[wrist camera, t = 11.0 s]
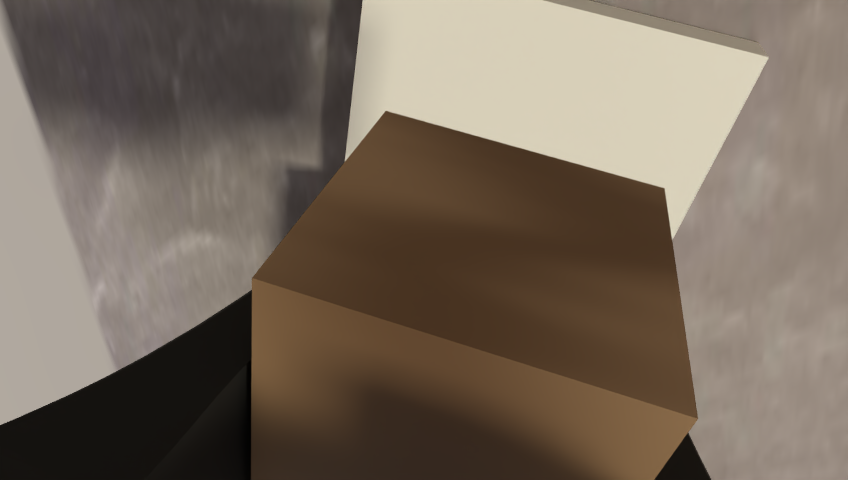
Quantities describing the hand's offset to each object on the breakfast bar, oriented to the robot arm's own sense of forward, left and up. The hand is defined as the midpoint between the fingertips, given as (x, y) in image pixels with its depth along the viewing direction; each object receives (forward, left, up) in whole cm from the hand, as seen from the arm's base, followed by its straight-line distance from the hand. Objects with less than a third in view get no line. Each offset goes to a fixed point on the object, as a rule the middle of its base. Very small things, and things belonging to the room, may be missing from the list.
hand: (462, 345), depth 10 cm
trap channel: (0, +6, -10) cm, 11 cm away
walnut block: (0, -1, -1) cm, 2 cm away
